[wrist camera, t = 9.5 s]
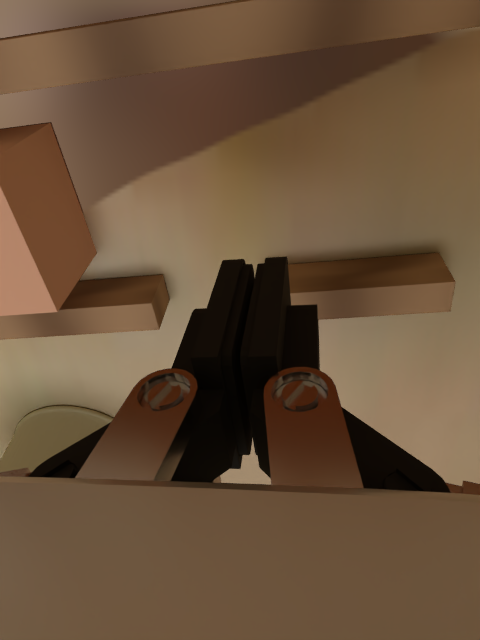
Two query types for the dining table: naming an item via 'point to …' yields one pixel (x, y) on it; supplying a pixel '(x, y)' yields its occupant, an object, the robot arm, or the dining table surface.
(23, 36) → the channel
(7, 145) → the block
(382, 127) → the dining table surface
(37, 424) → the can
